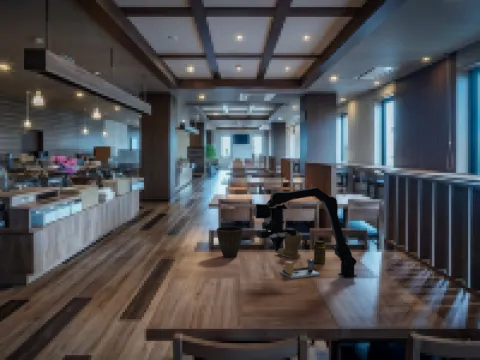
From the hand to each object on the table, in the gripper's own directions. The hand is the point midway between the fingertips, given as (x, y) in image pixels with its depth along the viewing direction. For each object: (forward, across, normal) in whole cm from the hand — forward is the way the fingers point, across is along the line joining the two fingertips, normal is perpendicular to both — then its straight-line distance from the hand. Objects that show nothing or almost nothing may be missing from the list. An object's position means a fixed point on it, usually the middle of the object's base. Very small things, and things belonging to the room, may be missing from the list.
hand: (276, 250), depth 205 cm
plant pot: (+13, +5, -47) cm, 49 cm away
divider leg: (+11, -7, -1) cm, 13 cm away
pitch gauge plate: (+13, -13, 0) cm, 18 cm away
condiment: (+13, -33, -14) cm, 38 cm away
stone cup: (+13, -27, -34) cm, 45 cm away
